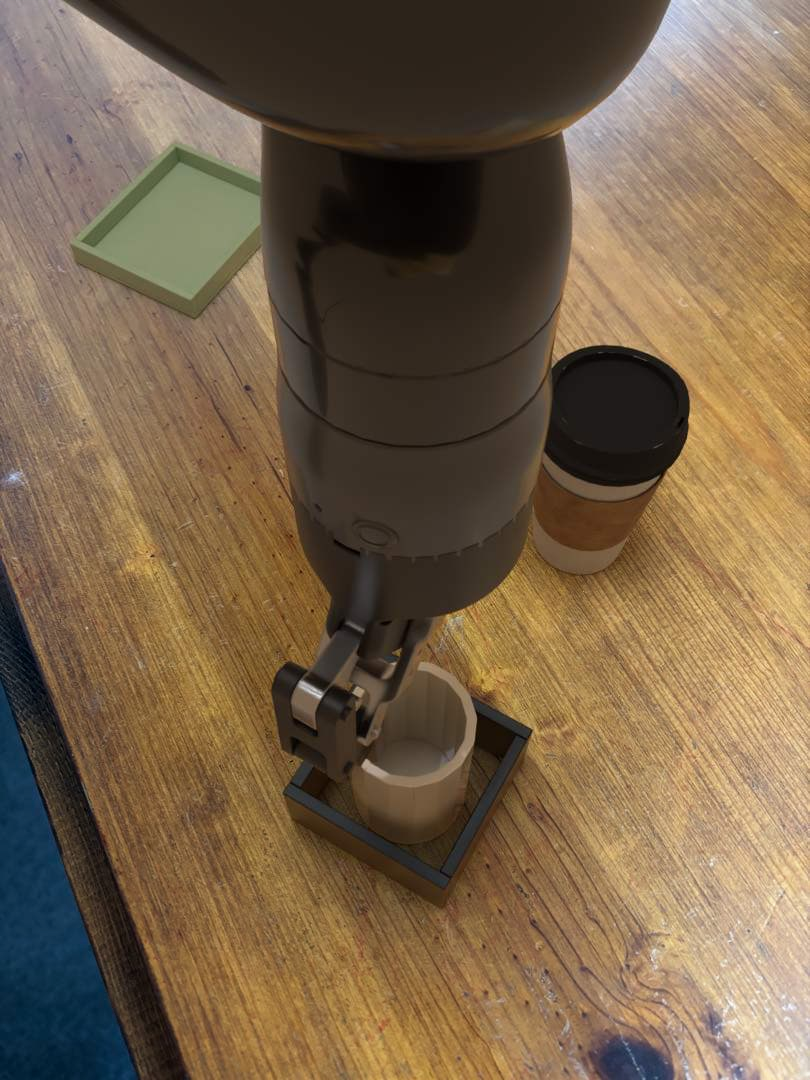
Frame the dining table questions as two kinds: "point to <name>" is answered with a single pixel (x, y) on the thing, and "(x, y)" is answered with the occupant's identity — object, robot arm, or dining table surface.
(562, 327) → the dining table surface
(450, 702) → the cup
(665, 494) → the dining table surface
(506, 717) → the open square frame
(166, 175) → the tray
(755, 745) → the dining table surface
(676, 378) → the coffee cup
